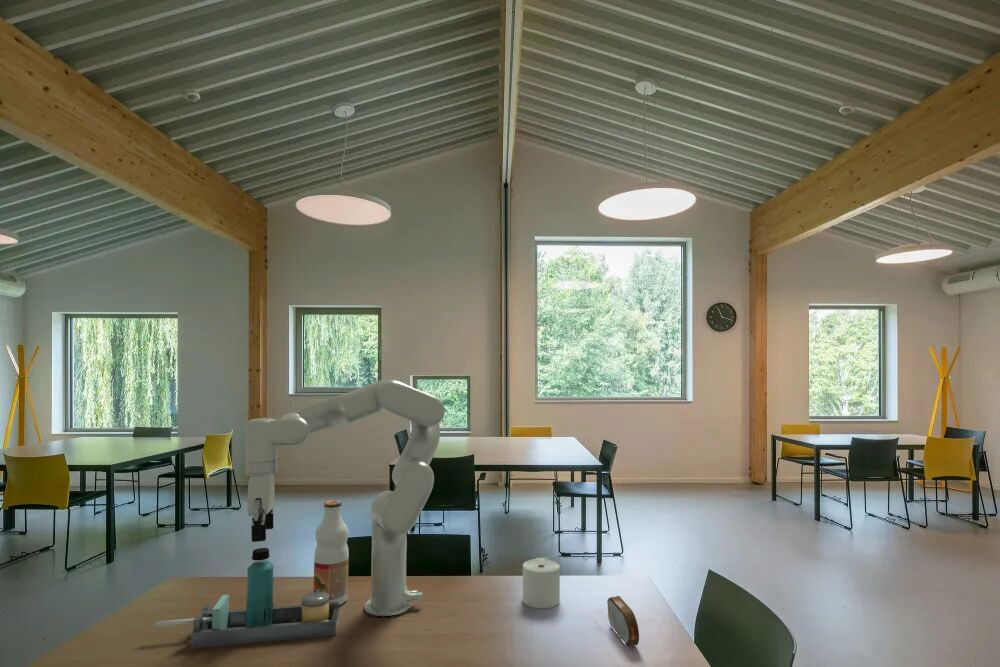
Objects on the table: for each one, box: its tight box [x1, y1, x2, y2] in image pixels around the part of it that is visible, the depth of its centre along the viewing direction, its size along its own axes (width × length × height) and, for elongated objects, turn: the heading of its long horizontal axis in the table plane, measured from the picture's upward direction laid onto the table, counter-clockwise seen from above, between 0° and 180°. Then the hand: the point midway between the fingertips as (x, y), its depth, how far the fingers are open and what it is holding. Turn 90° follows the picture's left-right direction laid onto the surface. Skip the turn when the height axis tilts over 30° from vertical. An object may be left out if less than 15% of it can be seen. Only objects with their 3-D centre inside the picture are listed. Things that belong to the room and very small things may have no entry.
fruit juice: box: [312, 499, 349, 606], centre depth 160 cm, size 9×9×28 cm
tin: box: [606, 595, 640, 647], centre depth 140 cm, size 15×3×8 cm, turn 9°
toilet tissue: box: [522, 556, 561, 609], centre depth 161 cm, size 11×12×10 cm
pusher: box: [153, 594, 230, 629], centre depth 138 cm, size 16×8×8 cm, turn 102°
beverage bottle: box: [245, 547, 275, 627], centre depth 143 cm, size 6×7×20 cm
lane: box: [190, 602, 340, 649], centre depth 142 cm, size 33×11×6 cm, turn 102°
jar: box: [301, 592, 330, 622], centre depth 144 cm, size 7×7×8 cm
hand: (263, 534), depth 142 cm, fingers open, 9 cm apart
